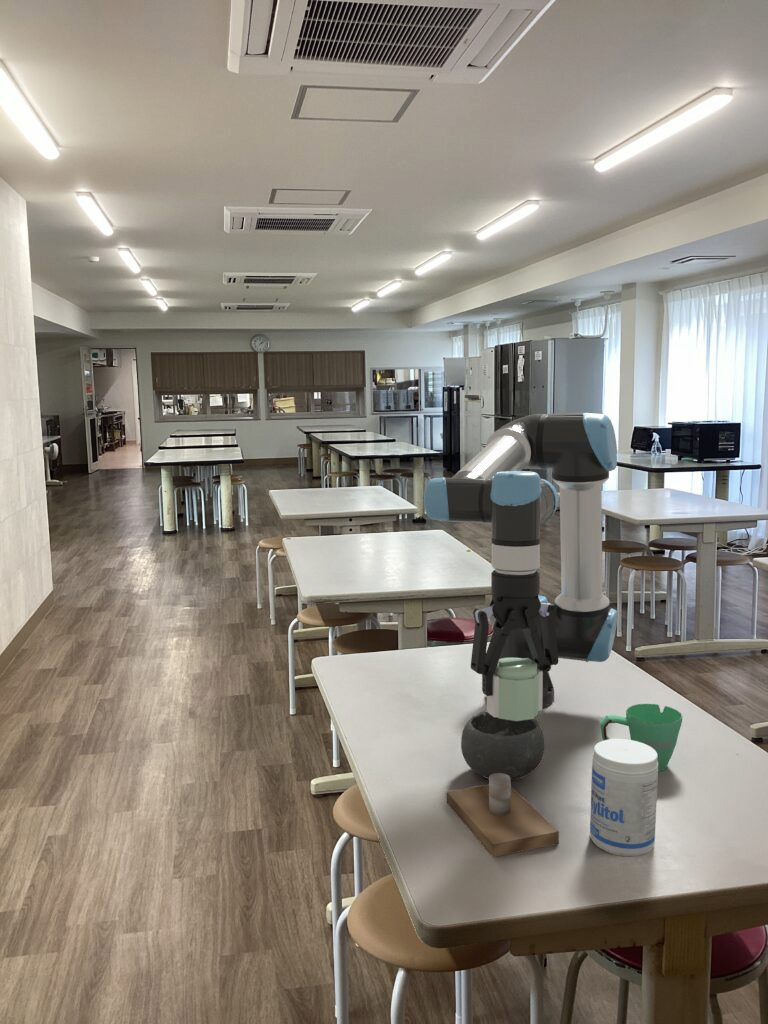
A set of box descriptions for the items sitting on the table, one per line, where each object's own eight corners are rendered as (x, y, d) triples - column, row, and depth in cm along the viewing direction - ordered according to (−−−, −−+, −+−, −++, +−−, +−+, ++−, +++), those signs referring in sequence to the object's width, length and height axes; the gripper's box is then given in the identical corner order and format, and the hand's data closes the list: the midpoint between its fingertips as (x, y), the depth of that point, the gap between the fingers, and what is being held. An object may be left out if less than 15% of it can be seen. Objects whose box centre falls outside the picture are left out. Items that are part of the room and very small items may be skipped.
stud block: (505, 792, 143) (505, 751, 142) (558, 843, 126) (559, 797, 125) (446, 802, 140) (446, 760, 139) (492, 856, 123) (492, 809, 122)
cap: (523, 702, 137) (523, 652, 136) (544, 717, 131) (545, 664, 130) (485, 707, 135) (485, 656, 134) (504, 722, 128) (505, 669, 127)
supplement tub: (578, 844, 126) (580, 752, 124) (606, 820, 133) (608, 732, 131) (640, 866, 120) (642, 769, 118) (665, 839, 127) (668, 748, 125)
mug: (671, 753, 158) (672, 703, 156) (688, 776, 148) (690, 723, 147) (593, 754, 158) (594, 703, 157) (605, 777, 148) (606, 723, 147)
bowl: (446, 767, 154) (446, 715, 153) (515, 752, 160) (515, 702, 158) (487, 801, 140) (487, 744, 139) (560, 784, 146) (561, 729, 145)
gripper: (559, 561, 137) (557, 696, 139) (447, 570, 130) (447, 711, 133) (583, 569, 130) (581, 711, 132) (467, 579, 123) (467, 727, 126)
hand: (514, 711), depth 133 cm, fingers closed on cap, 7 cm apart
